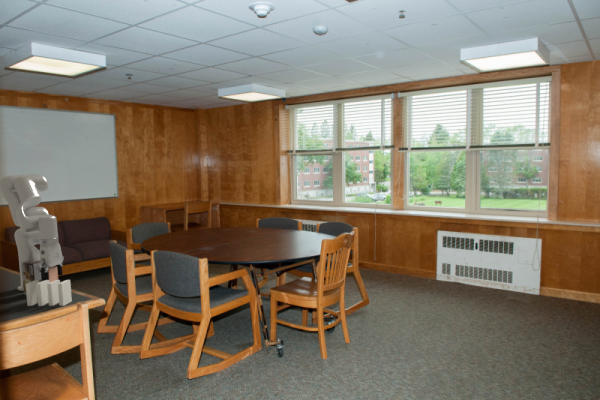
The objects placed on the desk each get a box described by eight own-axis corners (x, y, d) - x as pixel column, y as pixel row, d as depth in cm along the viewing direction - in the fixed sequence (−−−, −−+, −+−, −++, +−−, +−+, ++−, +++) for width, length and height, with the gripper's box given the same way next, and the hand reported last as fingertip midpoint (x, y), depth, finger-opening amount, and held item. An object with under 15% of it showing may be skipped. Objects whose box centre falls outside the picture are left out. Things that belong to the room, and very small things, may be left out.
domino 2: (38, 305, 183) (36, 283, 183) (47, 301, 189) (45, 280, 189) (42, 305, 183) (40, 283, 182) (51, 301, 189) (49, 280, 188)
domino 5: (59, 305, 183) (57, 283, 182) (68, 301, 189) (66, 279, 188) (63, 305, 183) (61, 283, 182) (71, 301, 189) (70, 279, 188)
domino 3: (46, 290, 192) (45, 269, 191) (55, 286, 198) (53, 266, 197) (50, 290, 192) (48, 269, 191) (58, 286, 198) (57, 266, 197)
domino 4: (48, 305, 183) (47, 283, 182) (57, 301, 189) (55, 280, 188) (52, 305, 183) (50, 283, 182) (61, 301, 189) (59, 280, 188)
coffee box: (48, 292, 203) (46, 260, 202) (36, 296, 197) (33, 263, 196) (35, 290, 206) (33, 259, 205) (23, 294, 201) (20, 262, 199)
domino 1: (27, 305, 184) (25, 283, 183) (36, 301, 190) (35, 280, 189) (31, 305, 184) (29, 283, 183) (40, 301, 190) (38, 280, 189)
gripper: (44, 245, 184) (47, 282, 185) (68, 238, 201) (71, 273, 203) (28, 245, 185) (31, 283, 186) (53, 239, 202) (56, 273, 203)
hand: (52, 277), depth 194 cm, fingers open, 9 cm apart
